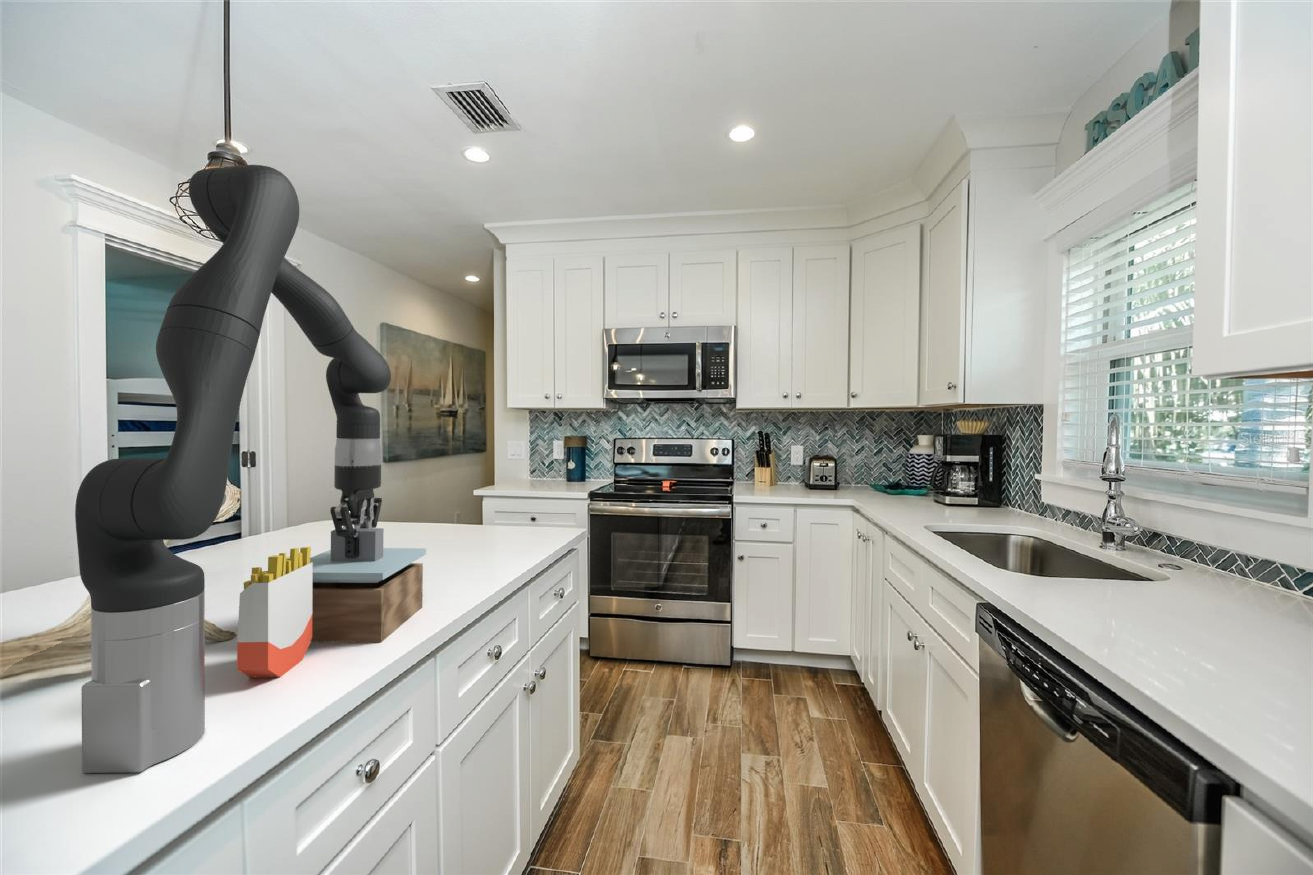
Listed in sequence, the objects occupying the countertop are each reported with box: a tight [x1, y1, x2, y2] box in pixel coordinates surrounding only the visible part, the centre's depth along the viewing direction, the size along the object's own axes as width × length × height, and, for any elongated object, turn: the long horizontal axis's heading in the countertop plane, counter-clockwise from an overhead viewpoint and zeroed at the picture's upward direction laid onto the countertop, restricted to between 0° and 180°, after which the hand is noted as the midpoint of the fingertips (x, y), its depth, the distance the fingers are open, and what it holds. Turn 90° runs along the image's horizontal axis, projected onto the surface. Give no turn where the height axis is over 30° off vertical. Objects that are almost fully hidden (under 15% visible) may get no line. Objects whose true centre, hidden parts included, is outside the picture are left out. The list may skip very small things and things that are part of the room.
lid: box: [310, 527, 427, 583], centre depth 96 cm, size 18×18×8 cm
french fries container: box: [236, 546, 313, 679], centre depth 78 cm, size 5×11×18 cm, turn 5°
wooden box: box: [310, 562, 424, 643], centre depth 96 cm, size 17×17×9 cm
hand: (357, 555), depth 96 cm, fingers closed on lid, 3 cm apart
